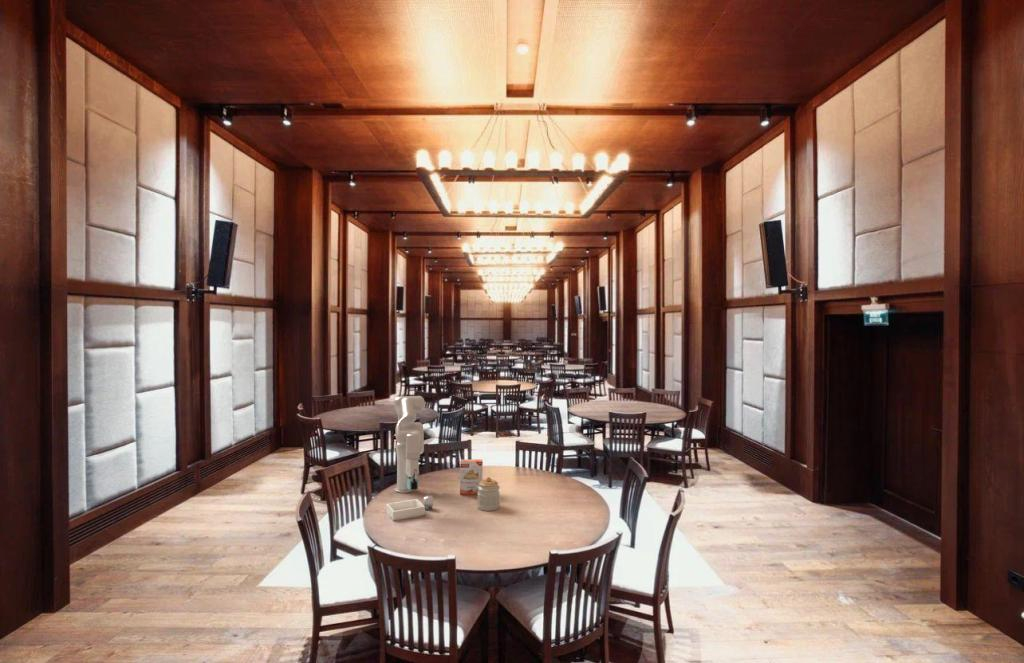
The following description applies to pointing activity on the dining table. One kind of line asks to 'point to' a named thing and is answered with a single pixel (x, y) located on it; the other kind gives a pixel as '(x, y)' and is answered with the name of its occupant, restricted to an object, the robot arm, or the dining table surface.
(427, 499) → the steel cylinder
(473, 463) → the cracker box
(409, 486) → the teal cube
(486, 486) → the jar
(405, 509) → the tote
